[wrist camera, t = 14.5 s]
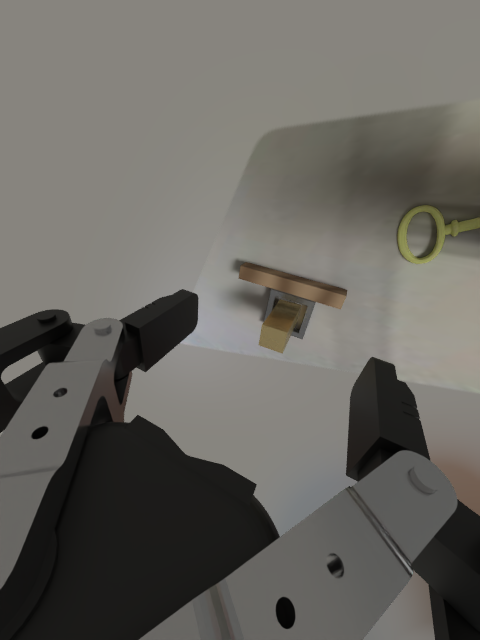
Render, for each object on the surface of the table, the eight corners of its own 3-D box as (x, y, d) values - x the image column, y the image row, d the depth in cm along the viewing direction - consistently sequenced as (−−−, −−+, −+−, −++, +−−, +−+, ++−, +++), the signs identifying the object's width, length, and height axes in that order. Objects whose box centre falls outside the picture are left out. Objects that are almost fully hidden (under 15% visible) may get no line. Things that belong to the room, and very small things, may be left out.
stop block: (301, 305, 41) (287, 332, 33) (296, 323, 43) (282, 353, 36) (280, 299, 43) (262, 324, 35) (276, 317, 45) (258, 345, 37)
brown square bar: (347, 290, 37) (346, 295, 35) (341, 303, 38) (340, 309, 36) (246, 262, 42) (240, 265, 40) (244, 274, 43) (238, 278, 41)
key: (537, 210, 25) (549, 211, 23) (408, 267, 32) (411, 272, 31) (512, 149, 24) (523, 146, 22) (385, 224, 31) (386, 226, 30)
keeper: (316, 300, 40) (315, 302, 39) (303, 336, 44) (302, 339, 43) (273, 287, 42) (271, 289, 41) (265, 322, 46) (263, 325, 45)
